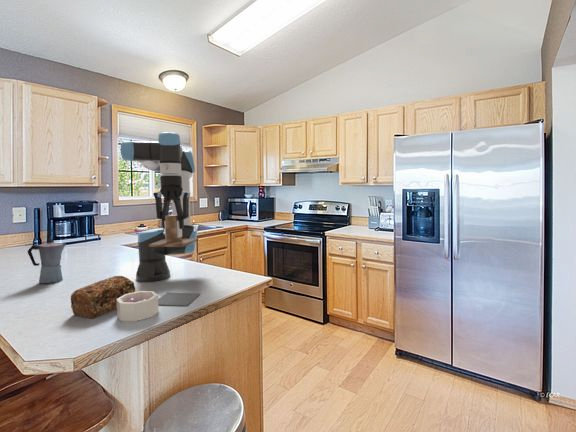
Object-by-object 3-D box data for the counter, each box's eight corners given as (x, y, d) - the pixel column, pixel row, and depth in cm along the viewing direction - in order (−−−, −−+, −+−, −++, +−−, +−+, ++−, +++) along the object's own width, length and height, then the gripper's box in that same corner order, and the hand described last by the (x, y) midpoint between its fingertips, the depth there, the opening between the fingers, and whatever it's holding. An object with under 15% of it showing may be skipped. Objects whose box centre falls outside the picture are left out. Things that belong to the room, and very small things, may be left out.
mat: (150, 305, 117) (150, 304, 117) (167, 293, 130) (167, 292, 130) (187, 306, 116) (187, 305, 116) (200, 294, 129) (200, 293, 129)
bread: (117, 297, 126) (115, 273, 125) (137, 301, 122) (136, 275, 121) (70, 315, 109) (67, 287, 108) (91, 320, 105) (89, 290, 104)
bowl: (110, 320, 104) (109, 302, 104) (132, 306, 116) (131, 290, 116) (145, 321, 103) (144, 303, 102) (163, 307, 115) (162, 291, 114)
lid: (148, 246, 115) (147, 216, 114) (165, 240, 128) (164, 213, 127) (183, 246, 114) (181, 216, 113) (197, 240, 127) (196, 213, 126)
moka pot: (73, 278, 154) (70, 237, 152) (37, 287, 140) (33, 242, 138) (61, 276, 158) (58, 236, 156) (25, 285, 144) (21, 241, 142)
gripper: (143, 175, 116) (147, 238, 118) (188, 174, 114) (191, 239, 116) (154, 175, 123) (157, 235, 125) (196, 175, 122) (199, 235, 124)
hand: (173, 237), depth 121 cm, fingers closed on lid, 4 cm apart
